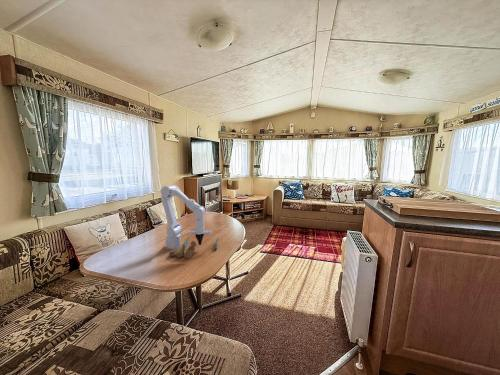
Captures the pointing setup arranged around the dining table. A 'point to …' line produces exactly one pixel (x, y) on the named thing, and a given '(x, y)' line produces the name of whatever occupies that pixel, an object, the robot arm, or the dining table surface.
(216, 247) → the pair of rectangular slabs
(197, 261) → the dining table surface
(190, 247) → the wooden block set
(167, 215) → the robot arm
